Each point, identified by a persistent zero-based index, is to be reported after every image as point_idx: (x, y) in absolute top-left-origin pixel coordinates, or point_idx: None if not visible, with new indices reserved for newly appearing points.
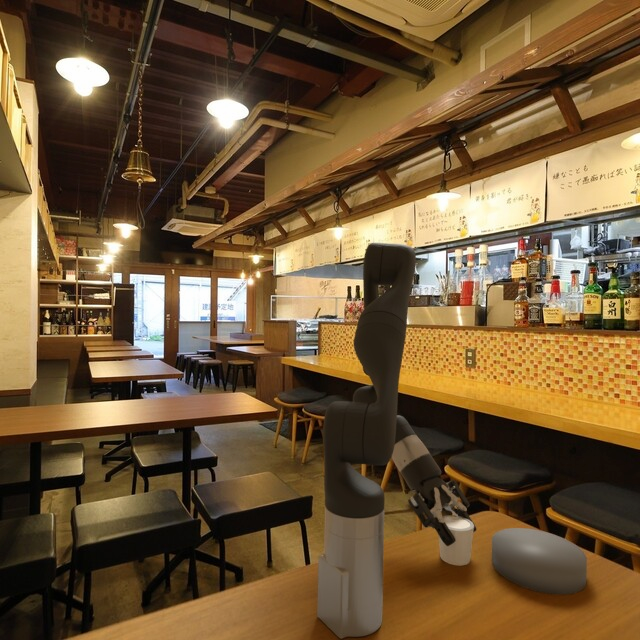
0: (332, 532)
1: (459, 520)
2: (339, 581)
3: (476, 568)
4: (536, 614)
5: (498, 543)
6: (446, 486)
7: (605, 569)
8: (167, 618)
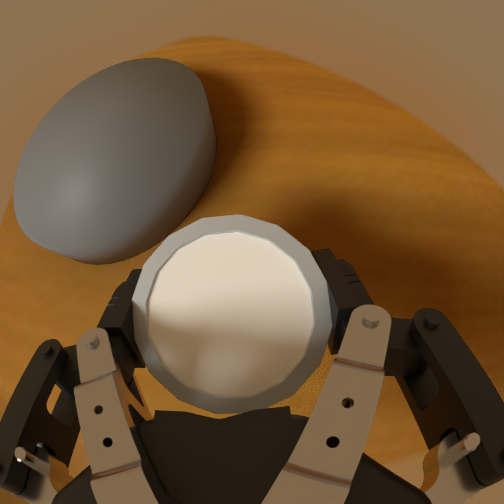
0: None
1: (182, 320)
2: None
3: None
4: (281, 83)
5: (141, 190)
6: (72, 502)
7: None
8: None
